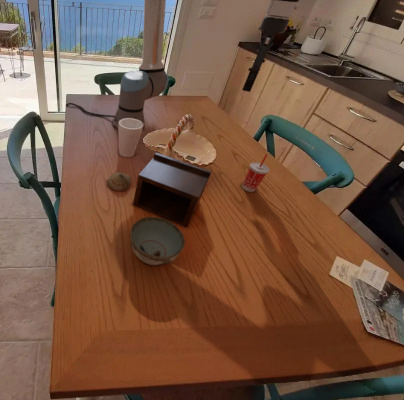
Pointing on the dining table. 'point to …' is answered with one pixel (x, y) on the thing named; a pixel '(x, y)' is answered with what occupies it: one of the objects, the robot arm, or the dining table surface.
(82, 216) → the dining table surface
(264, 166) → the beverage cup
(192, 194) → the shelf
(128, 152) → the foam cup
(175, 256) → the bowl
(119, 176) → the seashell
